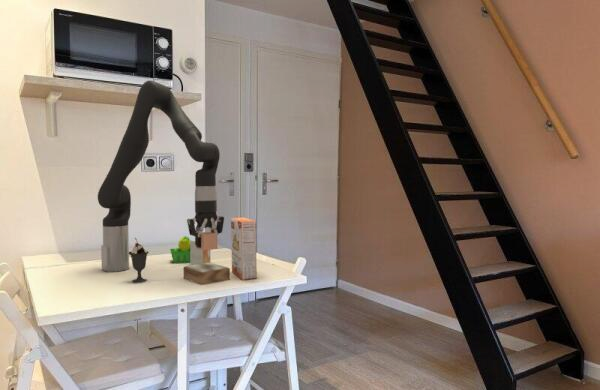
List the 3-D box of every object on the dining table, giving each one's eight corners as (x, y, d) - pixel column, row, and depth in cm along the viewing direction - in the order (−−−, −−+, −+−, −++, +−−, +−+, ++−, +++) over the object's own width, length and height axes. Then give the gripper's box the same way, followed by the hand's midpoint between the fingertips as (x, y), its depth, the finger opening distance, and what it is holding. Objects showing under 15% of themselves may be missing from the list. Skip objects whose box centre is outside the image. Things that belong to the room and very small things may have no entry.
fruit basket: (197, 258, 194) (196, 233, 193) (199, 262, 186) (198, 236, 185) (170, 260, 190) (169, 234, 190) (170, 264, 182) (170, 237, 181)
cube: (203, 250, 153) (203, 234, 153) (195, 248, 157) (195, 233, 157) (217, 248, 157) (217, 233, 157) (209, 246, 161) (209, 231, 161)
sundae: (133, 278, 158) (132, 236, 157) (152, 278, 158) (151, 236, 157) (125, 283, 151) (124, 239, 150) (145, 283, 151) (144, 239, 150)
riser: (202, 284, 149) (202, 272, 149) (183, 277, 159) (183, 266, 159) (229, 279, 157) (229, 267, 156) (210, 273, 166) (210, 261, 166)
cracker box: (230, 272, 168) (230, 217, 167) (246, 270, 171) (245, 216, 169) (240, 280, 155) (240, 221, 154) (257, 278, 158) (256, 220, 157)
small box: (203, 266, 178) (202, 240, 177) (190, 266, 179) (189, 240, 178) (211, 262, 185) (210, 237, 185) (198, 262, 187) (198, 237, 186)
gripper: (217, 197, 164) (218, 243, 165) (182, 199, 154) (182, 247, 155) (228, 198, 158) (229, 245, 159) (192, 200, 149) (193, 250, 150)
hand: (206, 246), depth 157 cm, fingers closed on cube, 5 cm apart
